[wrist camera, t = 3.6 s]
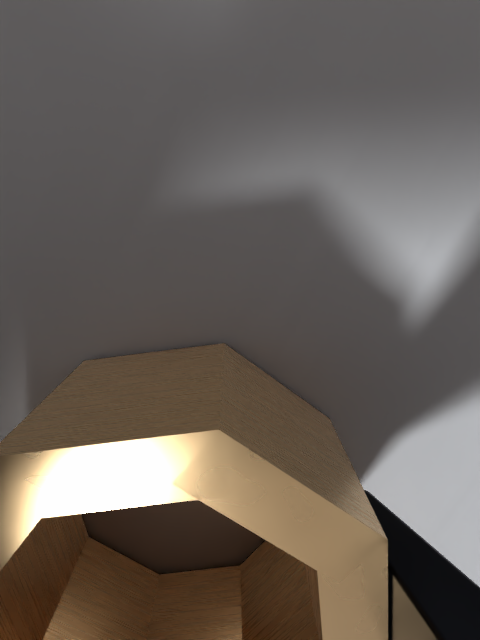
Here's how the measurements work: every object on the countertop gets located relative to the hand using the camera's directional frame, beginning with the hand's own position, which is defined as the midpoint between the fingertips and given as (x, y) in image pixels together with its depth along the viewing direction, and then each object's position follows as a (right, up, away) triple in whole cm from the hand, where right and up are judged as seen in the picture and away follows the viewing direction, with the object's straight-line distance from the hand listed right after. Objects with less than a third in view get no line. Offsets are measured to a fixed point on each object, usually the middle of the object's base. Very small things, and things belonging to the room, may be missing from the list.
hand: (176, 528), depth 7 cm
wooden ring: (0, 0, +1) cm, 1 cm away
